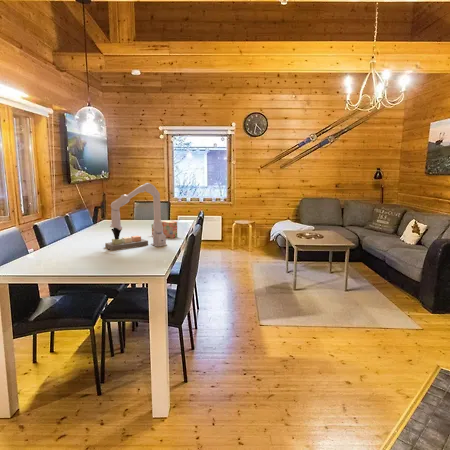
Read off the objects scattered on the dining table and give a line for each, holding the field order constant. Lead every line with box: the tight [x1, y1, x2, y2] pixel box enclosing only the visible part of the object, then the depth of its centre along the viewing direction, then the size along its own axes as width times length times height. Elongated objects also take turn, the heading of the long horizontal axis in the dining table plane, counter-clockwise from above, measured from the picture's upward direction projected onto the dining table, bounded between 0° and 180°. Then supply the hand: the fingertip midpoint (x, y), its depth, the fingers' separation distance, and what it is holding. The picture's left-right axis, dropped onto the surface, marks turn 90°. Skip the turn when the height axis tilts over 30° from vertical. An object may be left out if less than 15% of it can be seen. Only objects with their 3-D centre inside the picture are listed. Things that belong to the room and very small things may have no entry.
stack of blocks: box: [151, 220, 178, 239], centre depth 279 cm, size 21×6×12 cm, turn 60°
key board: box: [104, 238, 149, 251], centre depth 244 cm, size 12×26×3 cm, turn 129°
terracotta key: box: [130, 235, 142, 242], centre depth 248 cm, size 5×5×3 cm
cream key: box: [121, 236, 132, 243], centre depth 244 cm, size 5×5×3 cm
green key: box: [111, 237, 122, 245], centre depth 239 cm, size 5×5×3 cm
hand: (116, 238), depth 239 cm, fingers closed
